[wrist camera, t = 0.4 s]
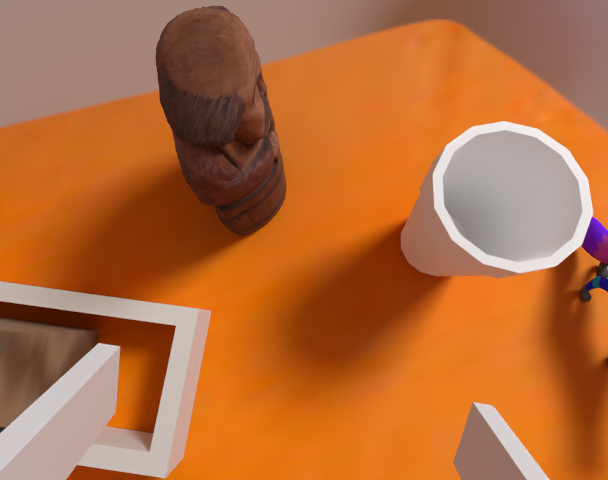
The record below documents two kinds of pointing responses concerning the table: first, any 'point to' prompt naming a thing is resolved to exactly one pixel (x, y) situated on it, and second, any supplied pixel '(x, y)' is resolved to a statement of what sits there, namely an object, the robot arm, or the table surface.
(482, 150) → the foam cup
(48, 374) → the walnut block
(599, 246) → the toy dog
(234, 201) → the wooden figurine
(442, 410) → the table surface
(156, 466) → the bay
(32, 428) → the robot arm
